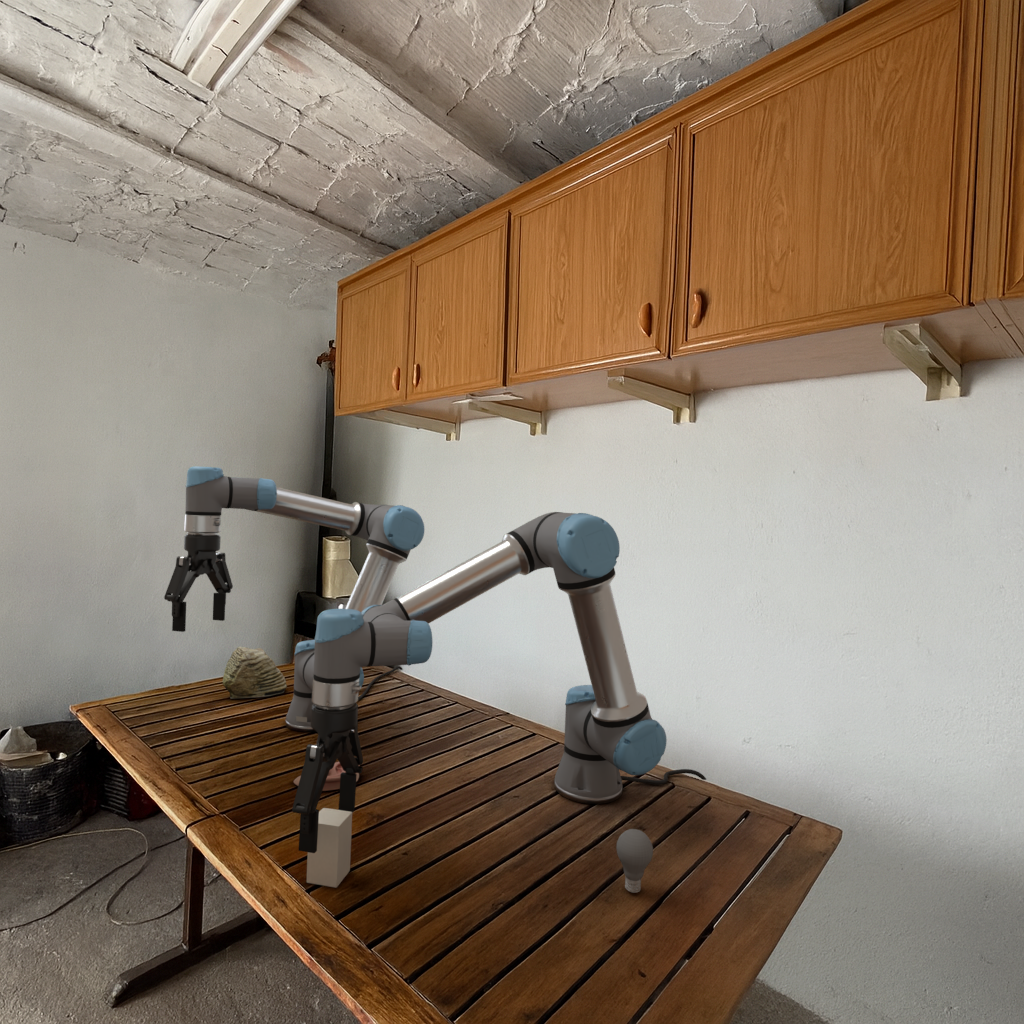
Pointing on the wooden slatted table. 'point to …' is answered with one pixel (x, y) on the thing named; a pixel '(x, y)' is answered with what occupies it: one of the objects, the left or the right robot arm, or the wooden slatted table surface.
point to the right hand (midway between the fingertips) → (328, 829)
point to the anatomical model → (331, 778)
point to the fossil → (252, 674)
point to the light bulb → (634, 857)
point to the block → (331, 848)
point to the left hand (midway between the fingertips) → (199, 625)
